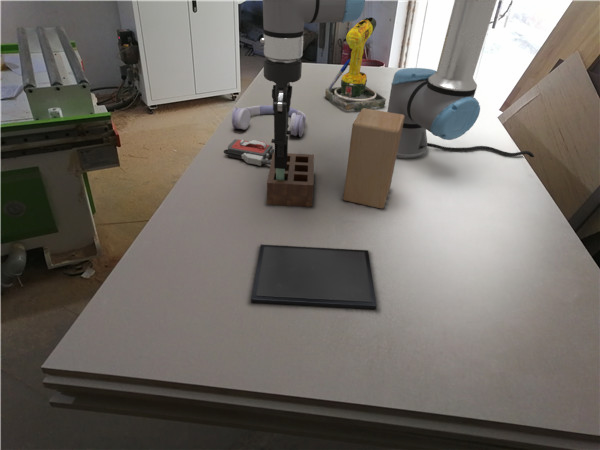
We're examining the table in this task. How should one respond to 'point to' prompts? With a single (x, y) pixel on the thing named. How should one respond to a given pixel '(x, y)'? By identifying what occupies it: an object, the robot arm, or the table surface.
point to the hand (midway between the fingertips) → (280, 164)
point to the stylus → (280, 174)
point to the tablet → (314, 277)
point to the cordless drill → (355, 73)
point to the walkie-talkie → (250, 151)
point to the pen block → (292, 182)
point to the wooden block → (372, 157)
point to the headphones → (243, 114)
